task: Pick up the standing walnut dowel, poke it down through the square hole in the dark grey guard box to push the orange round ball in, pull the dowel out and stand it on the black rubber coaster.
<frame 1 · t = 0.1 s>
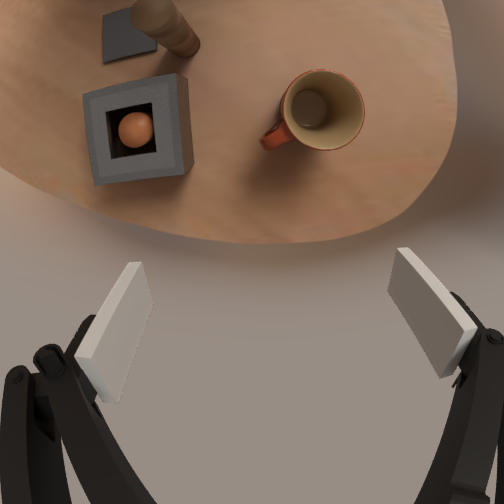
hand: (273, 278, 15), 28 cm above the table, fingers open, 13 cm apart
mug: (295, 115, 36), on the table
orange round ball: (138, 129, 32), point 4 cm above the table, slide at 0.0 cm
coaster: (129, 31, 29), on the table
guard: (148, 126, 36), on the table
stylus: (185, 45, 31), on the table
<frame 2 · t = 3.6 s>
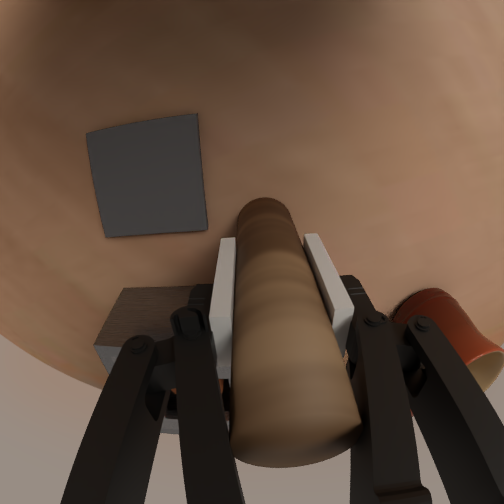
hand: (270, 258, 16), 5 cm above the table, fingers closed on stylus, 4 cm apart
mug: (405, 320, 26), on the table
orange round ball: (197, 372, 23), point 4 cm above the table, slide at 0.0 cm
coaster: (146, 177, 19), on the table
guard: (201, 339, 26), on the table
stylus: (264, 223, 21), on the table, touching gripper
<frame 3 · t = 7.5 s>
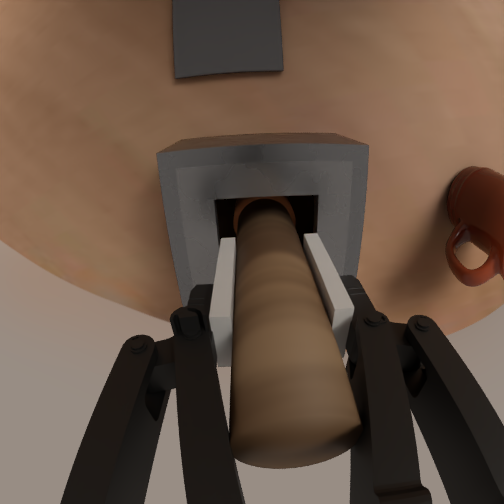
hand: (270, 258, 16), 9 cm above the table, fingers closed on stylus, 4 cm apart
mug: (456, 203, 24), on the table
orange round ball: (263, 215, 22), point 2 cm above the table, slide at 1.9 cm, touching stylus
coaster: (226, 27, 17), on the table
guard: (261, 206, 24), on the table
stylus: (264, 224, 21), point 4 cm above the table, touching gripper, orange round ball
when the fingers open (6 cm above the table, at t = 13.4 s): stylus stays where it is, resting on coaster.
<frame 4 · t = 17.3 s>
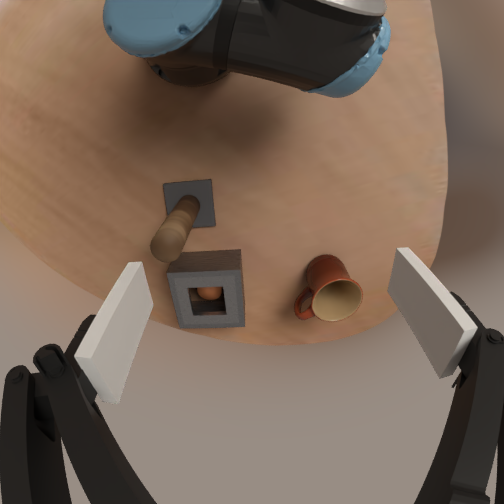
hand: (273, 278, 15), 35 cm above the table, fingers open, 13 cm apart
mug: (316, 272, 56), on the table
orange round ball: (210, 285, 54), point 2 cm above the table, slide at 1.9 cm
coaster: (189, 204, 49), on the table
guard: (211, 279, 56), on the table
stylus: (189, 205, 48), point 1 cm above the table, touching coaster
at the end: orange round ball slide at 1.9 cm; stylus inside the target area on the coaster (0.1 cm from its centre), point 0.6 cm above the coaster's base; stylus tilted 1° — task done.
